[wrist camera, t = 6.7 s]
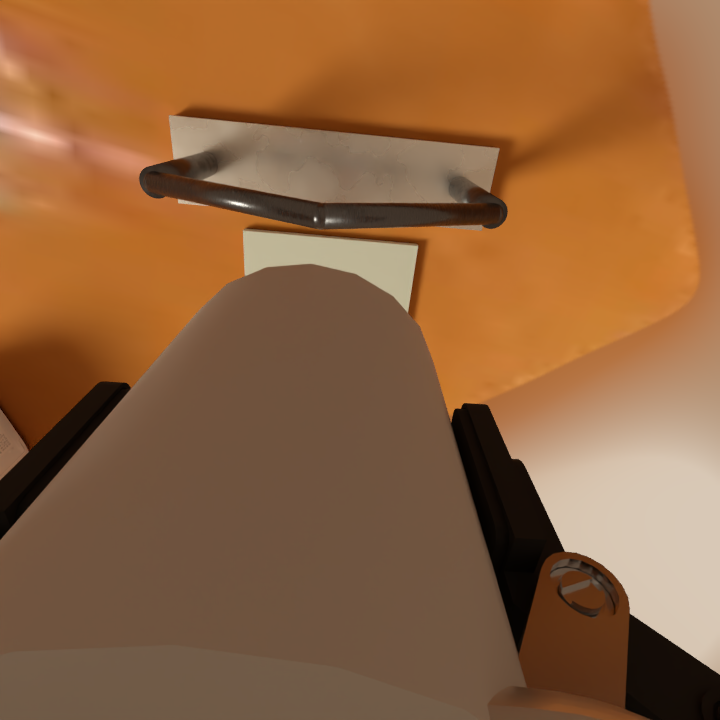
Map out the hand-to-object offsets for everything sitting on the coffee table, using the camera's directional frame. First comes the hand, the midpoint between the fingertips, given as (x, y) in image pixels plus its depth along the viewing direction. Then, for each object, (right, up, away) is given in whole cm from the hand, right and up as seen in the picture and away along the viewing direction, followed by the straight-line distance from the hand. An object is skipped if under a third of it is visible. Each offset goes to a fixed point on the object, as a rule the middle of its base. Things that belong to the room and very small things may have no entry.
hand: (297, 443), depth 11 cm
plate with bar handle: (0, +14, +18) cm, 23 cm away
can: (0, +2, +3) cm, 4 cm away
